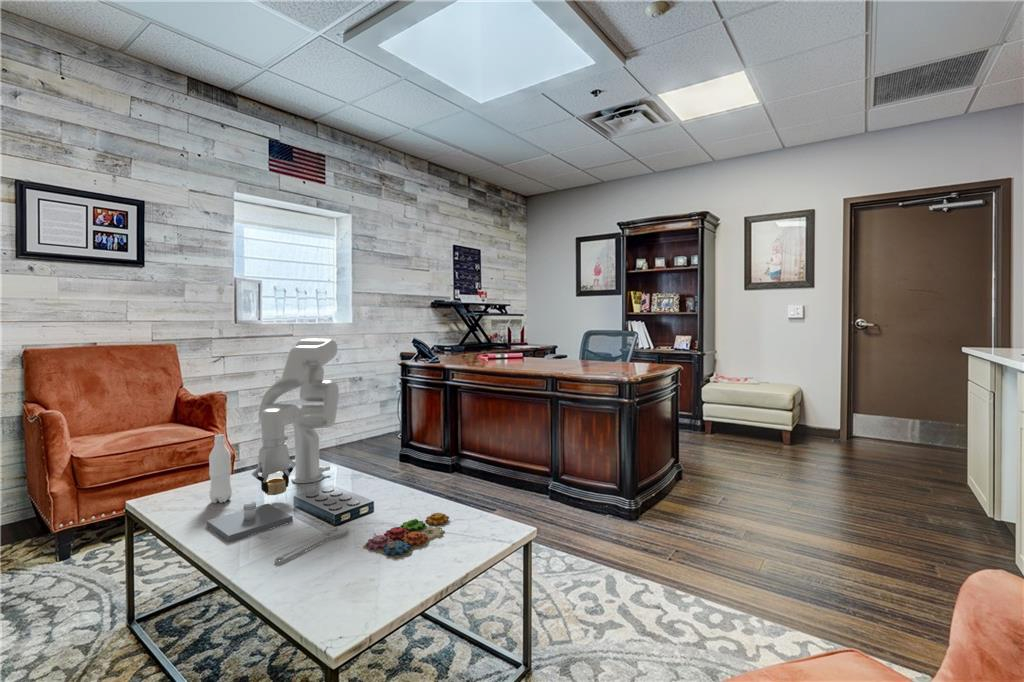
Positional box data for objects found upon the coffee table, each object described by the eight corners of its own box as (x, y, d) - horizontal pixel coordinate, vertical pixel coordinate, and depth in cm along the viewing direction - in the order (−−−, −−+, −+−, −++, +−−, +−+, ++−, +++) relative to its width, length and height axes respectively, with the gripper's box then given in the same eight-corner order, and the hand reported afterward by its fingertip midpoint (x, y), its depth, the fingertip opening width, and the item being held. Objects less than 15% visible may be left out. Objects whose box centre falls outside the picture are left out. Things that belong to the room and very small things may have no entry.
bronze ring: (280, 486, 192) (280, 476, 192) (289, 491, 188) (288, 480, 188) (262, 491, 187) (261, 481, 187) (270, 496, 183) (270, 485, 182)
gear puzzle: (429, 514, 177) (429, 503, 177) (466, 524, 169) (465, 512, 169) (360, 549, 151) (360, 536, 151) (399, 563, 142) (399, 549, 142)
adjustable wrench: (278, 567, 140) (278, 561, 140) (265, 561, 143) (264, 555, 143) (351, 534, 161) (350, 528, 161) (337, 529, 164) (337, 524, 164)
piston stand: (268, 508, 181) (267, 489, 181) (292, 521, 169) (292, 501, 169) (206, 526, 166) (206, 505, 165) (228, 542, 154) (228, 519, 154)
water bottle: (211, 499, 190) (209, 434, 189) (232, 496, 193) (231, 432, 192) (208, 506, 184) (206, 438, 182) (231, 502, 187) (229, 436, 185)
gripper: (291, 435, 195) (293, 480, 197) (244, 445, 182) (246, 493, 183) (301, 438, 190) (302, 484, 192) (253, 449, 177) (256, 498, 178)
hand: (275, 488), depth 188 cm, fingers closed on bronze ring, 6 cm apart
